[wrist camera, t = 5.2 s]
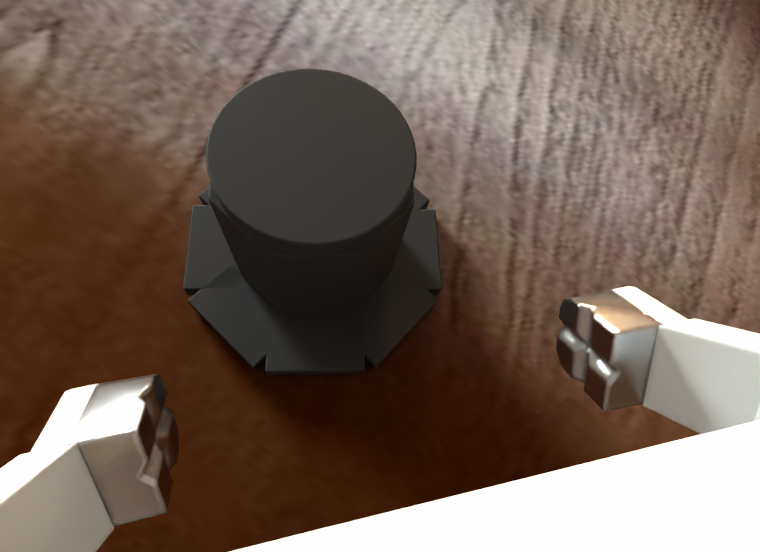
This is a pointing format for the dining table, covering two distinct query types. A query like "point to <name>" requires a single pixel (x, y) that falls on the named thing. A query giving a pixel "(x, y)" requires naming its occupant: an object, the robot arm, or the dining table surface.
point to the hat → (312, 226)
